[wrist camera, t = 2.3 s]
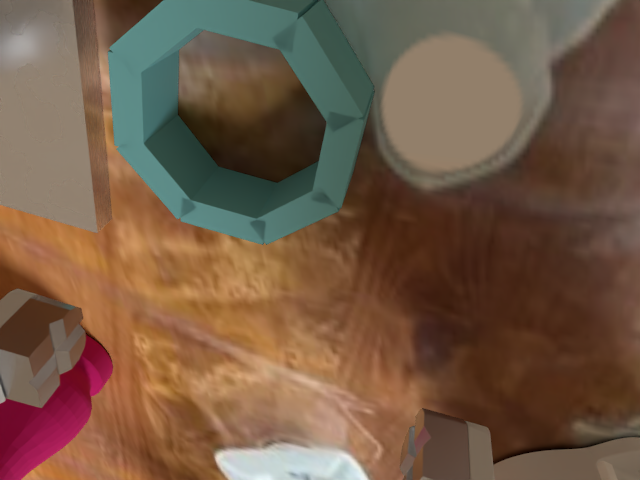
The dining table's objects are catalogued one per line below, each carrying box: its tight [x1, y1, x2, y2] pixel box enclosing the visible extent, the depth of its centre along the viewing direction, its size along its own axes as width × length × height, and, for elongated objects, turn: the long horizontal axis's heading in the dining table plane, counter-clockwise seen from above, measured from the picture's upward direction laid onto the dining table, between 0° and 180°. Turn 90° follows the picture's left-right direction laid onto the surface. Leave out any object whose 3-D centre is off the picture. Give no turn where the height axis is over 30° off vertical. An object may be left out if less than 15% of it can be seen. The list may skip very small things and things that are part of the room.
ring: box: [108, 0, 375, 245], centre depth 22 cm, size 11×11×4 cm
